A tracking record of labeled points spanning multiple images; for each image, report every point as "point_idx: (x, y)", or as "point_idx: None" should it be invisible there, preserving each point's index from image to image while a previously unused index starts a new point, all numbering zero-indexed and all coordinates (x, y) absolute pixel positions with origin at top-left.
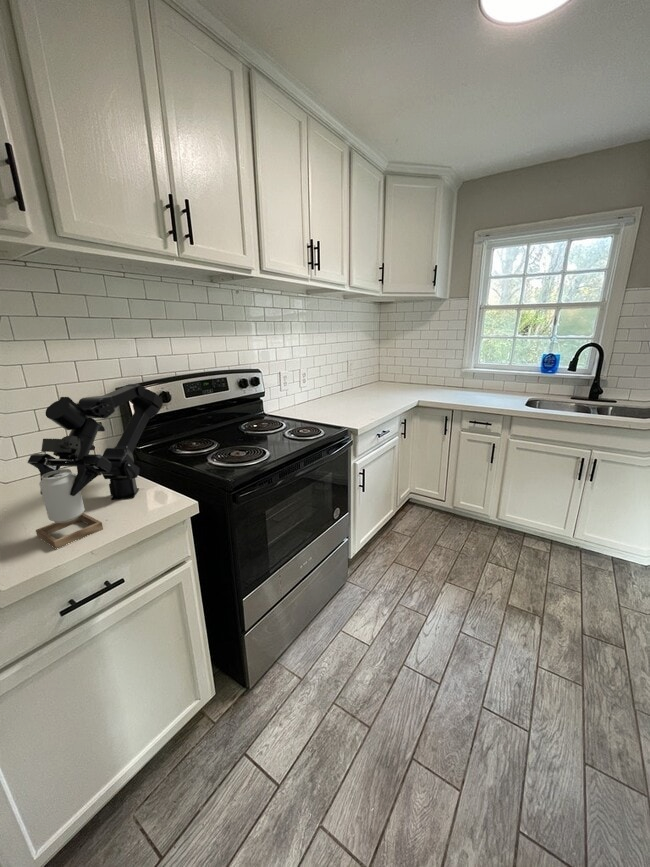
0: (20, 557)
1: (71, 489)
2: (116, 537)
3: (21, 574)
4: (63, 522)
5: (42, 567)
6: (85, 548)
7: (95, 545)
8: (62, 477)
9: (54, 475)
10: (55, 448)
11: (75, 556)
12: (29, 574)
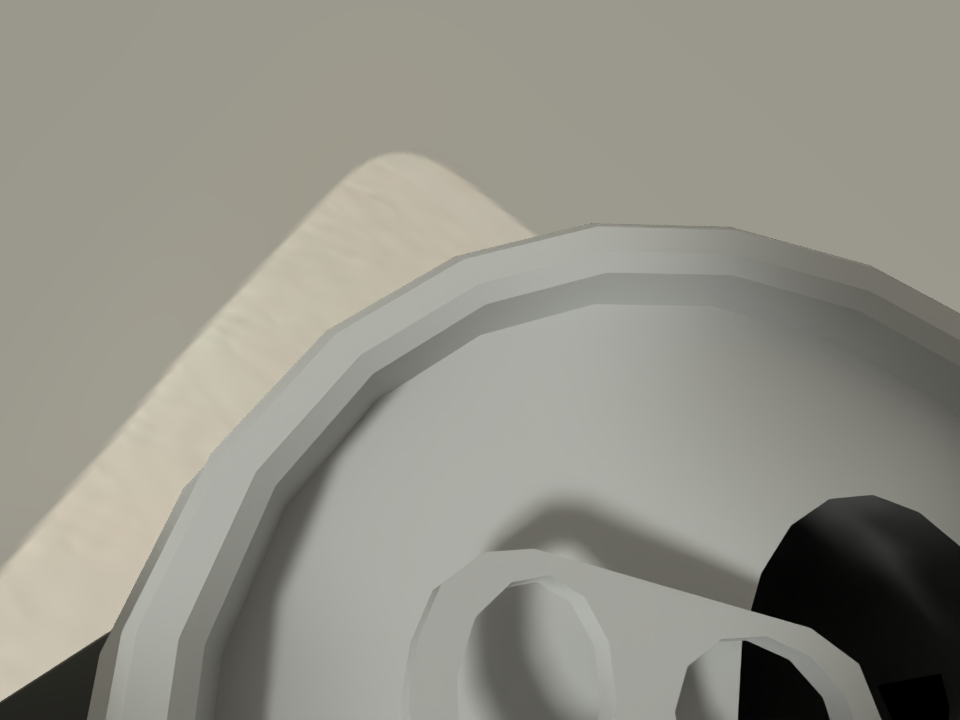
0: None
1: None
2: None
3: (412, 210)
4: None
5: (330, 269)
6: (149, 491)
7: (78, 540)
8: (250, 441)
9: (776, 622)
10: None
11: (169, 386)
12: (360, 210)
